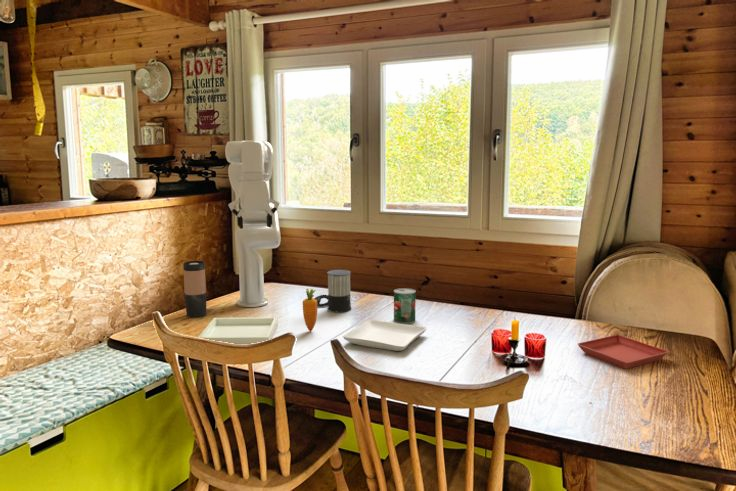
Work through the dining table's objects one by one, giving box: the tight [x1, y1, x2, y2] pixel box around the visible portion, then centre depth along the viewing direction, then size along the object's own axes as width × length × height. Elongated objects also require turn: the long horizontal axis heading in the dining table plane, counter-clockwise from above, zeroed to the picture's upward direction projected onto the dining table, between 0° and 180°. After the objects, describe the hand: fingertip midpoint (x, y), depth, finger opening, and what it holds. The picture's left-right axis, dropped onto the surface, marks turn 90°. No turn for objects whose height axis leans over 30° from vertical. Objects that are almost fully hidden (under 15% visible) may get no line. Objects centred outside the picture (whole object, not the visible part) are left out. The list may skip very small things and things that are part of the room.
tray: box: [197, 316, 279, 344], centre depth 189 cm, size 22×22×3 cm
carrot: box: [302, 288, 318, 332], centre depth 193 cm, size 5×5×15 cm
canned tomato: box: [393, 287, 417, 325], centre depth 206 cm, size 8×8×11 cm
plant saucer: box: [577, 334, 669, 370], centre depth 169 cm, size 18×18×3 cm
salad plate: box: [342, 319, 427, 352], centre depth 184 cm, size 21×21×3 cm
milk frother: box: [313, 269, 352, 313], centre depth 222 cm, size 14×16×15 cm
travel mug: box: [182, 260, 207, 319], centre depth 212 cm, size 8×8×20 cm
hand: (255, 227), depth 197 cm, fingers open, 9 cm apart
